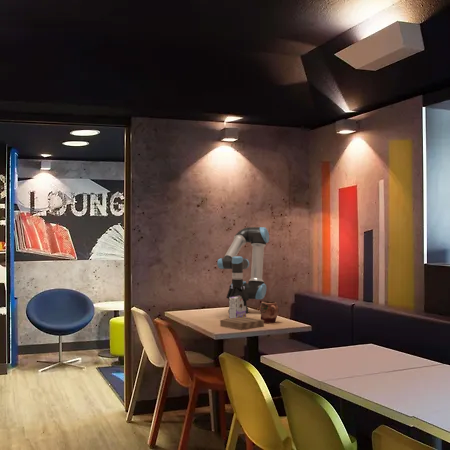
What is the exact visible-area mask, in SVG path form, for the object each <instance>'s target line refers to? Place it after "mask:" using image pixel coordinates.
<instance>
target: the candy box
mask: <svg viewBox="0 0 450 450" xmlns="http://www.w3.org/2000/svg"><path fill="white" fill-rule="evenodd" d="M242 301H243V299H242V298H241V296H235V297H230V298H229V299H228V310H229V312H228V313H229V314H228V319H230V318H238V317H247V313H246V311H242Z"/></svg>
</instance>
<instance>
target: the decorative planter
mask: <svg viewBox="0 0 450 450" xmlns="http://www.w3.org/2000/svg"><path fill="white" fill-rule="evenodd" d="M258 310H259V312H260V320H264V324H272V323H275V322H276V320H277V318H278V314H279V311H280V309H279V306H278V303H277V301H275V300H272V301H271V300H270V301H269V300H264V301H261V304H260V306H259V309H258Z"/></svg>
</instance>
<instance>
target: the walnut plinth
mask: <svg viewBox="0 0 450 450" xmlns="http://www.w3.org/2000/svg"><path fill="white" fill-rule="evenodd" d="M219 321H220V322H219V323H220V325H219V326H220V327H222V328H224V327H225V328H230V329H234V330H240V331H242V330H243V331H244V330H248V329H256V328H262V327H265V323H264V320H261V318H260V319H259V318H254V317H253V318H252V317H248V316H246V317H238V318H230V319H229V318H225V319H220V320H219Z"/></svg>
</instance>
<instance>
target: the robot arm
mask: <svg viewBox="0 0 450 450" xmlns="http://www.w3.org/2000/svg"><path fill="white" fill-rule="evenodd" d="M269 241H270V233H269V230H268V229H267V227H263V226H262V227H261V226H259V227H258V226H255V227H253V226H252V227H251V226H249V227H248V226H247V227H244V228H241V229H240V230H239V231H237V232H236V234H235V235H234V237H233V241H232V242H231V245H230V246H229V248H228V249H227V251H226V253H225V254H224V256H223V257H221V258H219V259H217V264H216V265H217V268H218V269H221V270H231V278H232V280H231V284H230V285H229V288H228V291H227V294H226V298H225V299H228V300H229V298H230V297H235V296H241V298H242V299H243V301H242V311H246V314H248V313H249V310H250V309H249V307H248V303H247V301H249V300H263V299H264V298H265V297H266V294H267V284H265V281H264V279H263V272H264V271H263V270H264V256H265V254H264V252H265V247H266V246H267V244H268V243H269ZM247 243H249V244H250V246H251V247H252V252H251V268H250V279H249V280H248V281H246V280H243V278H244V270H247V269H248V268H249V267H250V261H249V260H248V259H247V258H243V256H240V255H239V256H238V254H239V252H240V251H241V249H242V247H243V246H245V244H247ZM227 313H229V309H228V312H227Z"/></svg>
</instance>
